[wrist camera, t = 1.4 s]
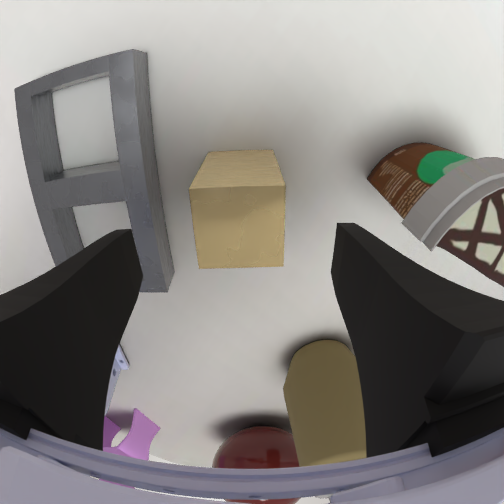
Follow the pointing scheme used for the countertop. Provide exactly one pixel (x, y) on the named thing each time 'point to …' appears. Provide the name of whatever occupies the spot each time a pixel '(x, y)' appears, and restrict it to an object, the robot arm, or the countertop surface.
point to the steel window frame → (101, 175)
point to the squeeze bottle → (325, 405)
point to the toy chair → (130, 438)
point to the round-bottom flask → (258, 454)
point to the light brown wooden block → (239, 210)
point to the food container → (448, 202)
